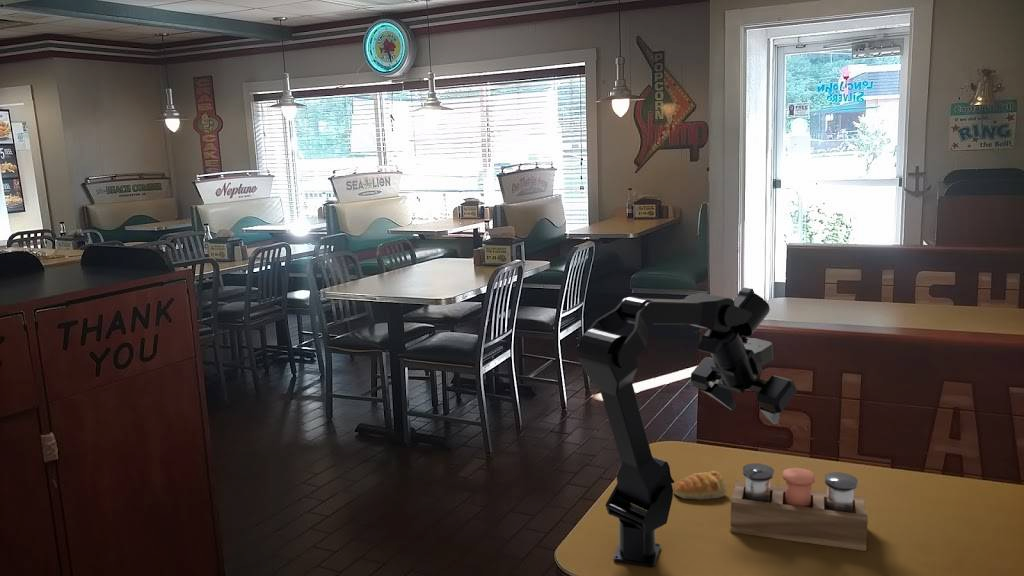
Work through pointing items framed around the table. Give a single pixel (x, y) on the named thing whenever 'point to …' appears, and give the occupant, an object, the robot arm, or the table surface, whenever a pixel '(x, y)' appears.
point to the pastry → (701, 486)
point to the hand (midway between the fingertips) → (754, 415)
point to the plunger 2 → (840, 491)
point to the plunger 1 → (758, 482)
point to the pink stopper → (798, 486)
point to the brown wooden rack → (799, 519)
